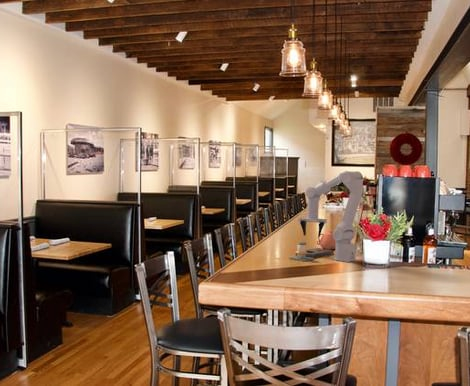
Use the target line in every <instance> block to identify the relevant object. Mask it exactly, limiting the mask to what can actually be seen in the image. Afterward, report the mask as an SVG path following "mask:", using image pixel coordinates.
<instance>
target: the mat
mask: <svg viewBox="0 0 470 386" xmlns="http://www.w3.org/2000/svg"><path fill="white" fill-rule="evenodd" d="M288 258H289V260H294V261H301V262H308V261H313V260H314V259H315V258H309V257H305V258H304V259H300V258H297V256H296V255H294V256H291V257H288Z"/></svg>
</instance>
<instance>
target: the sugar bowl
mask: <svg viewBox="0 0 470 386" xmlns="http://www.w3.org/2000/svg"><path fill="white" fill-rule="evenodd" d="M333 232H334V230H328V232H324V233H321V235H320V236H321V237H318V236H317V240H318V241H316V245H317V246H320V248H322V249H328V250H334V249H336V242H335V240H334V238H333Z"/></svg>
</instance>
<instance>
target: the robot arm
mask: <svg viewBox="0 0 470 386" xmlns="http://www.w3.org/2000/svg"><path fill="white" fill-rule="evenodd" d="M364 179H365V178H364V176H363V174H362V173H361V171H348V170H344V171H343V172H340V173H339V174H338V175H337V176H334V177H333V178H331V179H330V180H328V181H327V180H320V182H319V183H318V184H314V185H313V186H312V187H311V186H308V188H306V190H305V196H306V197H307V211H306V212H307V213H306V217H298V222H299V225H300V226H301V229H302V232H303V233H302V234H303V236H304V237H305V236H306V234H307V223H317V224H318V234H317V238H318V237H319V238H321V236H322V235H321V234H322V231H323V228H324V227H325V224H327V222H328V221H327V219H326V218H319V207H320V206H319V205H320V204H319V203H320V198H321V197H322V195H324V194H326V193H328V192H330V191H331V188H333V187H335V186H337V185H339V184H341V183H343V185H344V186H346V188H347V189H348V190H349V192H350V193H349V196H348V200H347V203H346V206H345V208H344V211H343V212H344V213H343V215H342V218H341V221H340V222H339V223H338V224H337V225H336V228H335V229H334V230H333V238H334V240H335V242H336V249H335V250H334V255H335V256H334V257H332V258H331V260H334V261H339V262H345V263H350V262H354V261H357V259H356V257H357V255H356V254H357V253H356V252H357V251H356V250H357V247H356V244H355V243H352V240H353V239H354V236H355V226H354V225H353V224H354V220H355V218H356V214H357V211H358V208H359V206H360V201H361V199H362V196H363V192H364V186H363V185H364V184H363V183H364Z"/></svg>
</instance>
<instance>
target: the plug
mask: <svg viewBox="0 0 470 386" xmlns="http://www.w3.org/2000/svg"><path fill="white" fill-rule="evenodd" d="M296 249H297V250H295V255H296V254H297V258H300V259H304V258H305V255H306V254H307V251H306V250H307V242H304V241H299V242H297V248H296Z"/></svg>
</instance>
